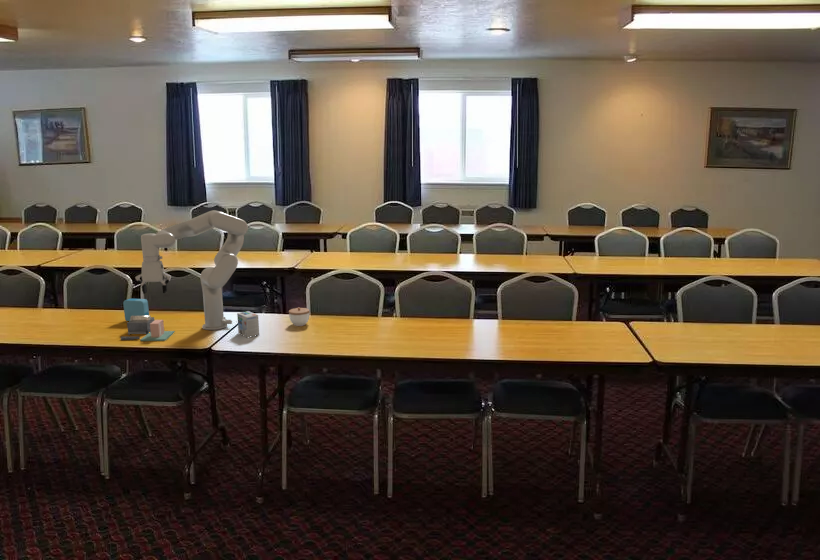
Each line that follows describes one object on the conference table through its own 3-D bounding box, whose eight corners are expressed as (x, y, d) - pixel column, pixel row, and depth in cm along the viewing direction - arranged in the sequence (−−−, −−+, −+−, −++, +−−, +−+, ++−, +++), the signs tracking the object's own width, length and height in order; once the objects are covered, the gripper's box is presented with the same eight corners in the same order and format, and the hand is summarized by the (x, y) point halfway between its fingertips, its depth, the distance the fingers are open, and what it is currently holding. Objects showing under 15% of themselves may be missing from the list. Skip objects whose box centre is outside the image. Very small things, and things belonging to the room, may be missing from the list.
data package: (149, 320, 360) (147, 299, 357) (145, 322, 355) (142, 301, 353) (130, 319, 362) (127, 298, 359) (125, 321, 357) (122, 300, 355)
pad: (174, 332, 336) (174, 331, 336) (165, 340, 323) (164, 339, 322) (151, 332, 336) (151, 331, 336) (140, 341, 322) (140, 339, 322)
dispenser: (155, 328, 344) (153, 313, 343) (140, 339, 325) (138, 323, 323) (136, 328, 344) (134, 313, 342) (119, 340, 325) (118, 324, 323)
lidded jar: (285, 326, 345) (285, 309, 343) (295, 321, 355) (294, 304, 353) (304, 328, 342) (303, 310, 340) (313, 322, 352) (312, 305, 350)
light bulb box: (238, 333, 334) (236, 312, 331) (250, 331, 338) (248, 310, 336) (247, 338, 326) (246, 317, 323) (260, 335, 330) (258, 314, 328)
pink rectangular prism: (164, 333, 333) (163, 319, 331) (159, 337, 326) (158, 323, 324) (156, 333, 333) (155, 319, 331) (151, 337, 326) (149, 323, 324)
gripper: (171, 257, 326) (175, 290, 329) (136, 257, 325) (140, 291, 329) (166, 259, 318) (170, 294, 322) (130, 260, 318) (134, 295, 322)
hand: (155, 292), depth 325 cm, fingers open, 9 cm apart
